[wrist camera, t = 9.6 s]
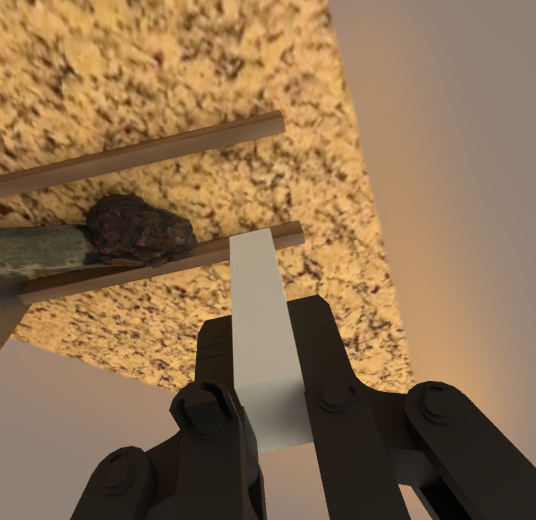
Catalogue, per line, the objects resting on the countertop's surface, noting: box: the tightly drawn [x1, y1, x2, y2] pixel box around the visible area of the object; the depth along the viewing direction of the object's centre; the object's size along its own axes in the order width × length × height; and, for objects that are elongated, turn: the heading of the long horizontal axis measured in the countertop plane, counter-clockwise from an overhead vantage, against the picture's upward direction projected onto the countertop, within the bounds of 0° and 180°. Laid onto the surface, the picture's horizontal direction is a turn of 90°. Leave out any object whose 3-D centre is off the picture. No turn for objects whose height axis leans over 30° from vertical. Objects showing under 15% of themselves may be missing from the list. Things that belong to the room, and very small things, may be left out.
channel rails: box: [0, 110, 305, 305], centre depth 35 cm, size 12×28×2 cm, turn 102°
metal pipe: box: [0, 194, 197, 278], centre depth 34 cm, size 18×7×6 cm, turn 94°
